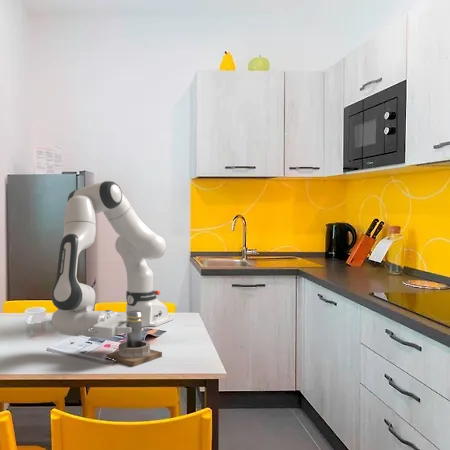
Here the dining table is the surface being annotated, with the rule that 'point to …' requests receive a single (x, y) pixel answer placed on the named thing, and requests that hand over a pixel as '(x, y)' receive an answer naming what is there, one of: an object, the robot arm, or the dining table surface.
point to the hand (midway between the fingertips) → (136, 326)
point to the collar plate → (134, 360)
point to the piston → (134, 329)
